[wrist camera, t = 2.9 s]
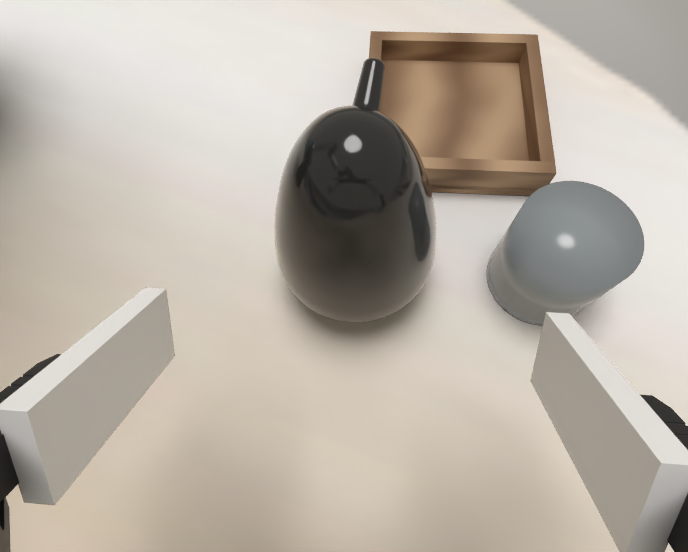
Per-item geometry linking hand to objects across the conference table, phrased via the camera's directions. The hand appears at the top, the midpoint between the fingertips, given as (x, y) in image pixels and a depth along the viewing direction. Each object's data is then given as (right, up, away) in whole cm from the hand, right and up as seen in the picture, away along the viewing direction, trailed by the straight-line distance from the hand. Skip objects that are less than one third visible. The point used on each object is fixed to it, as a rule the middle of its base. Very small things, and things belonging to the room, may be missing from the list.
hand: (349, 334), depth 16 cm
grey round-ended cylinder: (+14, +2, +16) cm, 21 cm away
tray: (+9, +15, +22) cm, 28 cm away
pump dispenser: (+1, +2, +17) cm, 18 cm away
